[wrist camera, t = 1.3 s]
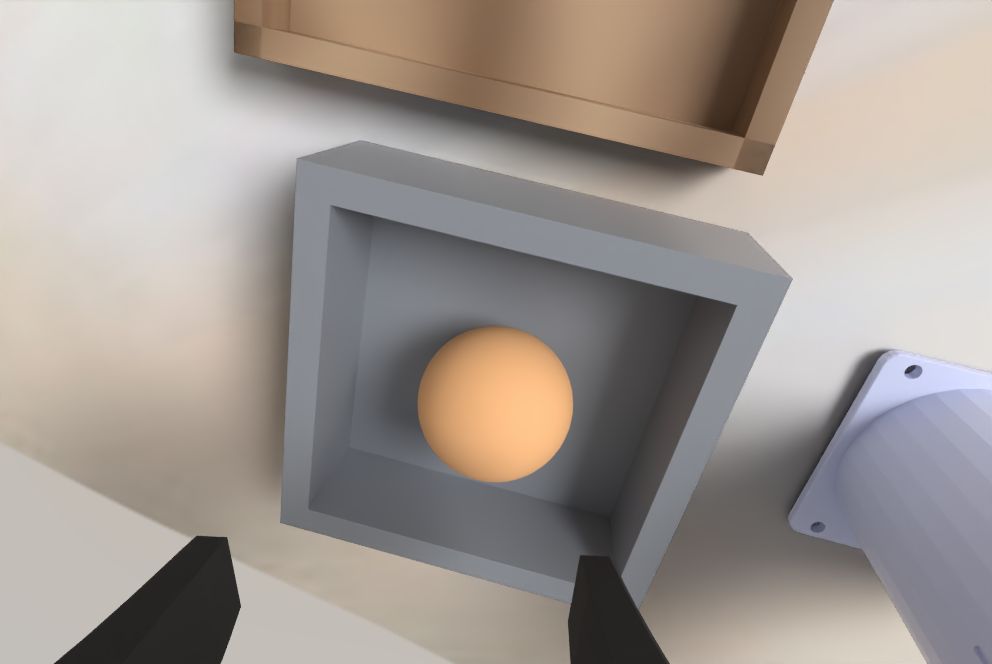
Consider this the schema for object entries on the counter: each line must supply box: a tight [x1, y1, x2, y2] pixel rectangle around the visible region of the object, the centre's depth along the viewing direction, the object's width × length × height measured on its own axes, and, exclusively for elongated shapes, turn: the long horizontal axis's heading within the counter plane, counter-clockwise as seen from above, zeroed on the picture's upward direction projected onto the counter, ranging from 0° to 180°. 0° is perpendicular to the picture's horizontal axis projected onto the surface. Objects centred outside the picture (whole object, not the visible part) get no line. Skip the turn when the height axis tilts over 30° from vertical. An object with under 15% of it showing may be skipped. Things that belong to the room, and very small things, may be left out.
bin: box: [280, 140, 793, 610], centre depth 19 cm, size 13×13×4 cm
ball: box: [418, 326, 573, 482], centre depth 18 cm, size 5×5×5 cm
